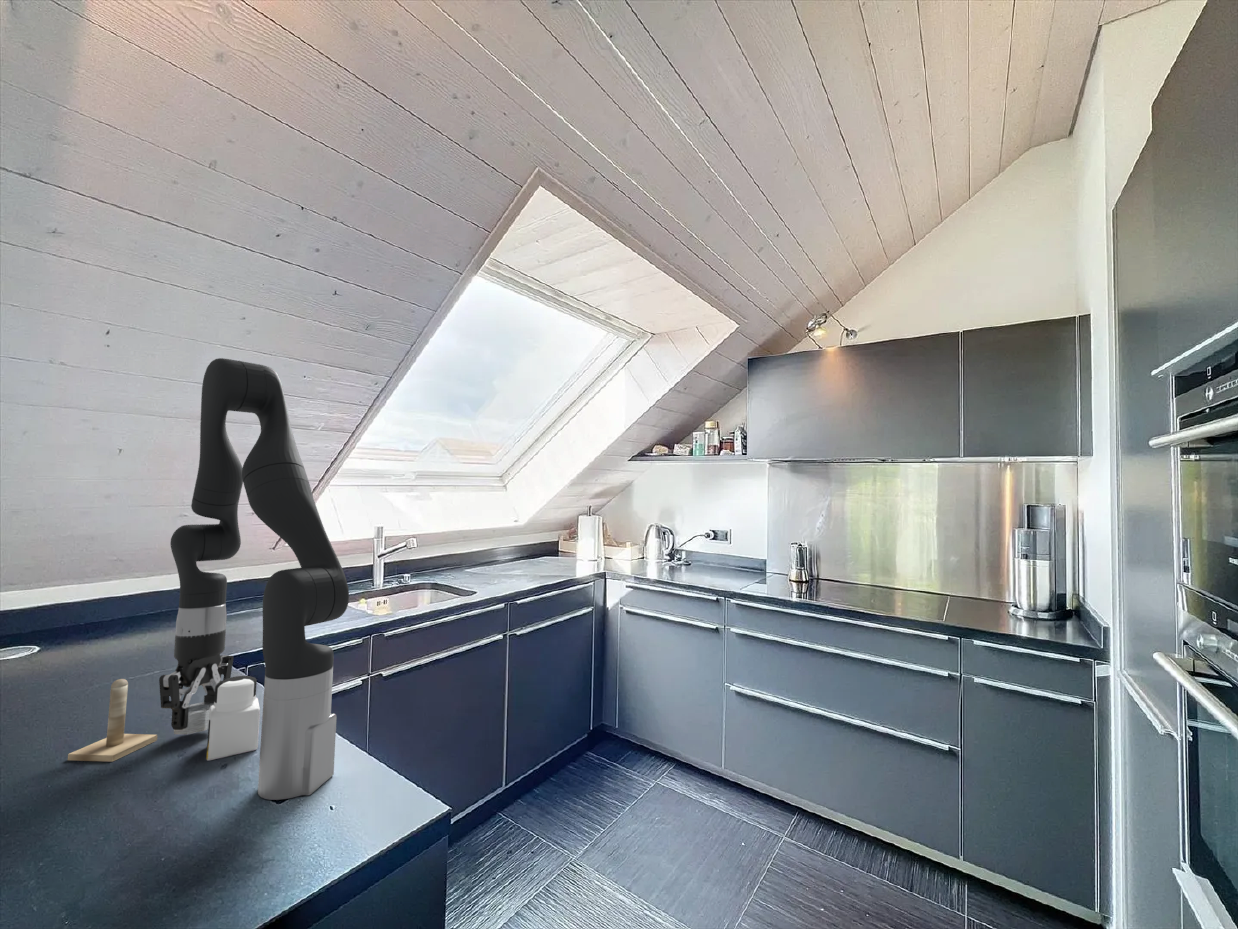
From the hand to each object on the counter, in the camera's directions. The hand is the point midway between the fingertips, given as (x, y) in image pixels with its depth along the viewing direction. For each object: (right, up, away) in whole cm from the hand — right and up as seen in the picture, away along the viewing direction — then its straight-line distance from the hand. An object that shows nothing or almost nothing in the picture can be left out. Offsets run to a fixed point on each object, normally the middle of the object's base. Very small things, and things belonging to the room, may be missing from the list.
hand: (195, 721), depth 97 cm
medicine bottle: (+10, -3, -5) cm, 12 cm away
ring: (0, -1, 0) cm, 1 cm away
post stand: (-10, -2, -6) cm, 11 cm away
